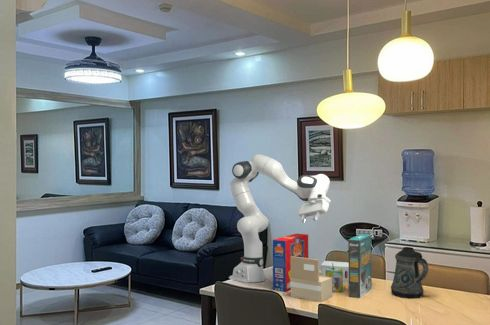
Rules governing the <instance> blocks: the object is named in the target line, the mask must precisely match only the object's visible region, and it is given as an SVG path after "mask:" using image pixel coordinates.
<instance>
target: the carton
mask: <svg viewBox="0 0 490 325" xmlns="http://www.w3.org/2000/svg"><path fill="white" fill-rule="evenodd" d="M290 286H291V290H290V297H293V298H298V299H302V300H308V301H313V302H319V303H323V302H324V301H326V300H328V299H330V298H332V297H333V292H332V278H331V277H327V276H321V274H319V282H315V281H309V280H302V279H296V278H291V282H290Z"/></svg>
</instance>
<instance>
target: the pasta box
mask: <svg viewBox="0 0 490 325" xmlns="http://www.w3.org/2000/svg"><path fill="white" fill-rule="evenodd" d="M291 256H294V257H301V258H309V234H306V233H293V234H289V235H285V236H282V237H281V236H280V237H279V238H275V239H272V291H276V292H280V293H287V292H291V286H290V282H291Z"/></svg>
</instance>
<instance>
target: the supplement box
mask: <svg viewBox="0 0 490 325" xmlns="http://www.w3.org/2000/svg"><path fill="white" fill-rule="evenodd" d="M332 263H333V266H334V268H342V279H343V282H344V283H345V282H347V283H349V261H348V262H346V261H333V260H324V261H323V262H322V263H321V264H320V275H321V276H326V268H333V266H332Z"/></svg>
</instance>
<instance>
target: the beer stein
mask: <svg viewBox="0 0 490 325" xmlns="http://www.w3.org/2000/svg"><path fill="white" fill-rule="evenodd" d="M394 257H395V260H396V262H395V270H394V275H393V280H392V283H391V286H390V291H391V294H392V296H394V297H397V298H400V299H401V298H402V299H408V300H409V299H420V298H422V297H423V295H424V292H425V291H424V288H423V285H422V281H423V280H424V279H425V278H426V277H427V275H428V273H429V264H428V261H427V260H426V258H423V255H422V253H421V252H420V251H419V252H418V251H416V250H415V249H414V247H410V246H404V247H403V248H402V249H401V250H400V251H398V252H397V253H395V255H394ZM419 265H421V267H422V272H420V267H419Z"/></svg>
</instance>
